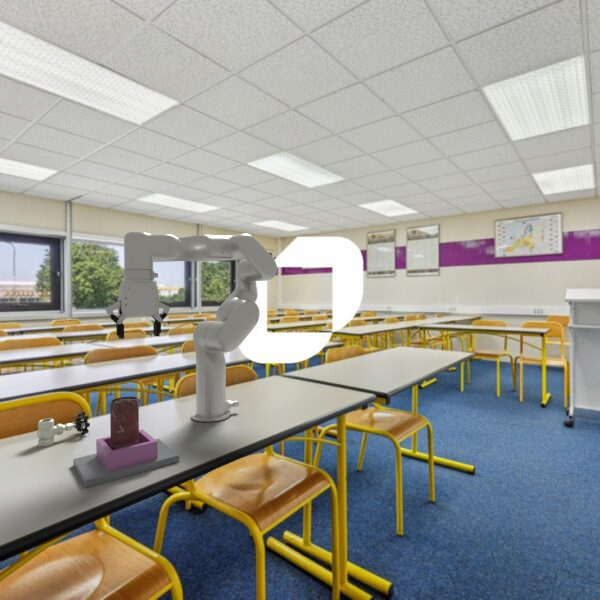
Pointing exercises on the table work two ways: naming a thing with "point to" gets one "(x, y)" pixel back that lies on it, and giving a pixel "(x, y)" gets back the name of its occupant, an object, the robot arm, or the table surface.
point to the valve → (59, 429)
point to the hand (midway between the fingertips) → (139, 337)
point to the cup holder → (123, 459)
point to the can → (124, 422)
